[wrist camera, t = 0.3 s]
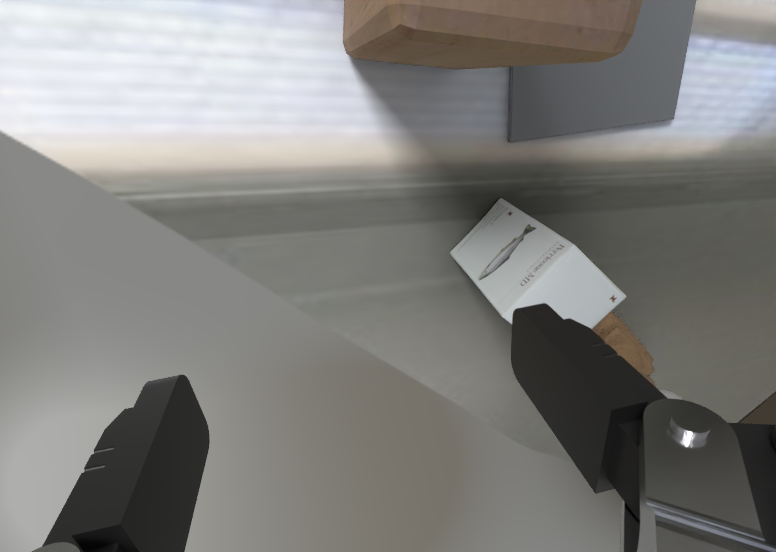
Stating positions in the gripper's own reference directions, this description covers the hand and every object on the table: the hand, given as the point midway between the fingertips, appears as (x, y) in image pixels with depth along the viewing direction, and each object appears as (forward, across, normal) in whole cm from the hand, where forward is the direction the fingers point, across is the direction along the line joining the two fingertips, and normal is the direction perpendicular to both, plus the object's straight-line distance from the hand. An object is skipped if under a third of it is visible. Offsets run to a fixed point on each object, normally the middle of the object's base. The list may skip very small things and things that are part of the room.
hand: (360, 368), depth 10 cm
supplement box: (+28, -16, +11) cm, 34 cm away
